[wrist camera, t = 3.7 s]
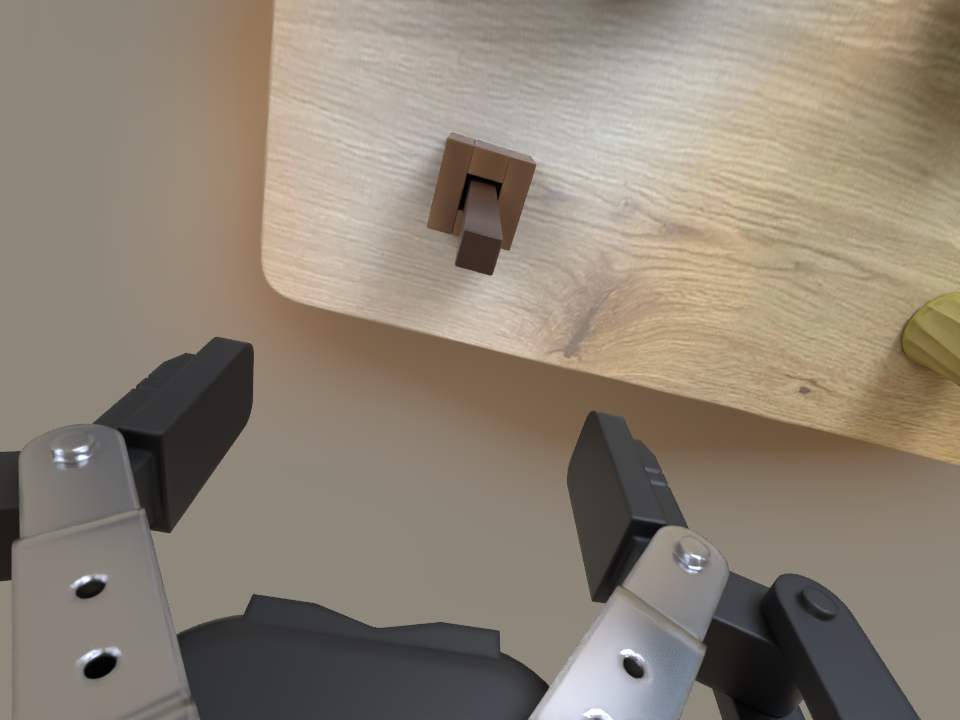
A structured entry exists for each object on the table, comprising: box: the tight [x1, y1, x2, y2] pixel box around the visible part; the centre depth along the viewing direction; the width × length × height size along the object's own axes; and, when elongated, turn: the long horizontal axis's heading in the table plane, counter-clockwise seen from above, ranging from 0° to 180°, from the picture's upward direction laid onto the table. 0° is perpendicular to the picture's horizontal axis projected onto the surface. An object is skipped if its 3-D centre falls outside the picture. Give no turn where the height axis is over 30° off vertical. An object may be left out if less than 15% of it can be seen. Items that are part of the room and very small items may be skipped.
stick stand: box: [427, 133, 536, 250], centre depth 33 cm, size 5×5×4 cm
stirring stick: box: [455, 175, 503, 275], centre depth 28 cm, size 2×2×16 cm
